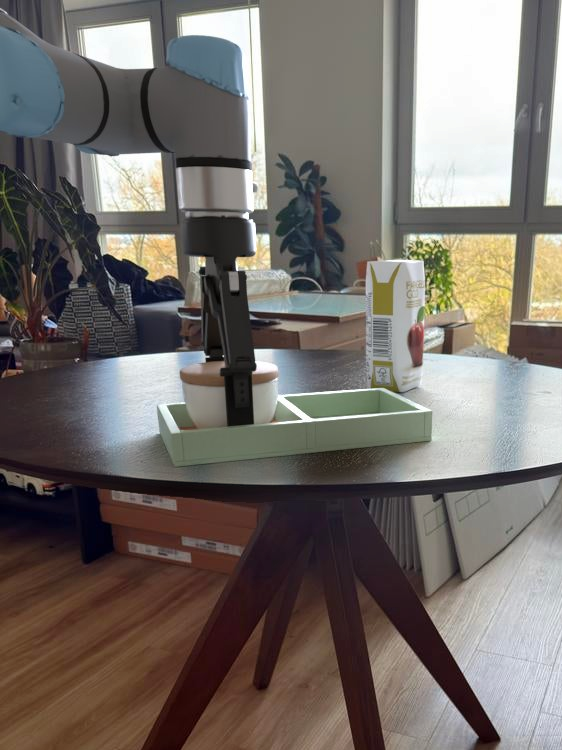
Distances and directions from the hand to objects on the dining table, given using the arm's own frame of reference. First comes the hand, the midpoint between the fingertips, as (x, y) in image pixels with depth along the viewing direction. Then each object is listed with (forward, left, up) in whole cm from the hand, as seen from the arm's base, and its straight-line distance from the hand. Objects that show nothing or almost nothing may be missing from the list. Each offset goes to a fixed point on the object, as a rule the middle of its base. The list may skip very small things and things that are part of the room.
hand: (230, 423), depth 82 cm
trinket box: (0, 0, -2) cm, 2 cm away
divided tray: (+7, 0, -2) cm, 8 cm away
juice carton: (+30, +24, -2) cm, 39 cm away
